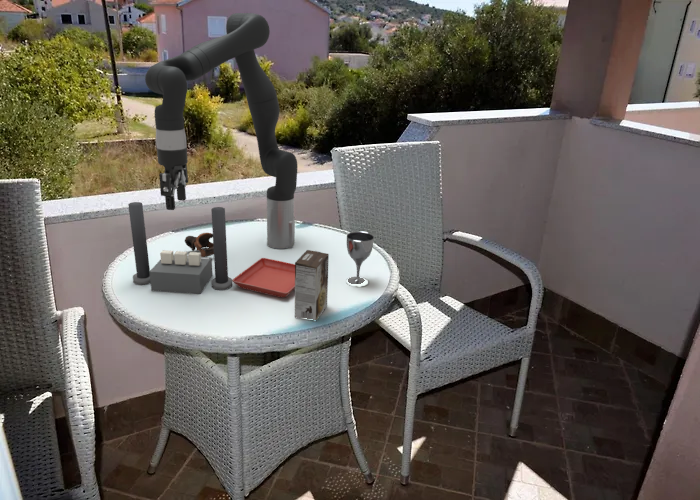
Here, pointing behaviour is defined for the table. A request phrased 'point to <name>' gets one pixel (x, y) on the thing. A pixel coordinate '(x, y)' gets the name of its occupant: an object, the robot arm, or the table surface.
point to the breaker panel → (181, 276)
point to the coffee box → (311, 284)
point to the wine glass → (359, 251)
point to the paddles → (180, 258)
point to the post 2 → (220, 250)
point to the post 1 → (139, 244)
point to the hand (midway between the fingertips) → (176, 204)
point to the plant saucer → (268, 277)
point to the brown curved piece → (201, 244)
